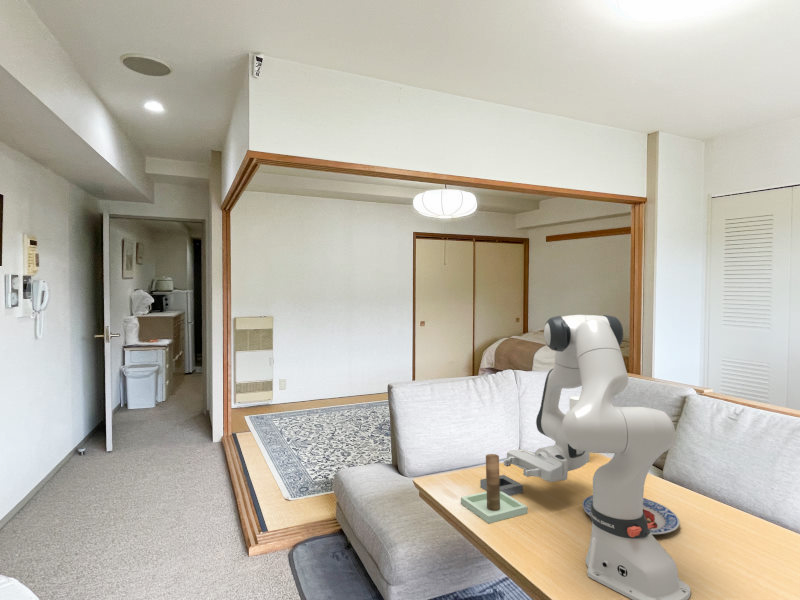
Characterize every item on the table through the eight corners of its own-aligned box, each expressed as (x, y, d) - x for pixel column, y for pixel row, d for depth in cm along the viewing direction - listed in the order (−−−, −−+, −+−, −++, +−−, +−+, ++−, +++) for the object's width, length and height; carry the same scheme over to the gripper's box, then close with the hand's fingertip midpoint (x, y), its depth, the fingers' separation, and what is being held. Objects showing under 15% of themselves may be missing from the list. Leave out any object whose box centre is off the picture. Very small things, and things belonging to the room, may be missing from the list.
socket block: (522, 493, 154) (522, 484, 154) (498, 499, 150) (498, 490, 150) (503, 483, 163) (503, 474, 163) (480, 488, 159) (480, 479, 159)
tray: (527, 514, 139) (527, 506, 139) (488, 525, 133) (488, 516, 133) (497, 496, 152) (497, 488, 152) (460, 505, 146) (460, 497, 146)
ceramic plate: (695, 545, 122) (695, 534, 122) (592, 536, 127) (592, 525, 127) (660, 503, 148) (660, 493, 148) (575, 496, 153) (575, 487, 153)
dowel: (502, 509, 142) (501, 457, 142) (492, 511, 140) (491, 459, 140) (494, 503, 145) (493, 453, 145) (484, 506, 144) (483, 455, 144)
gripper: (525, 442, 162) (494, 448, 156) (571, 461, 144) (537, 469, 138) (525, 460, 162) (494, 467, 156) (571, 481, 144) (537, 490, 138)
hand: (514, 468), depth 147 cm, fingers open, 8 cm apart
